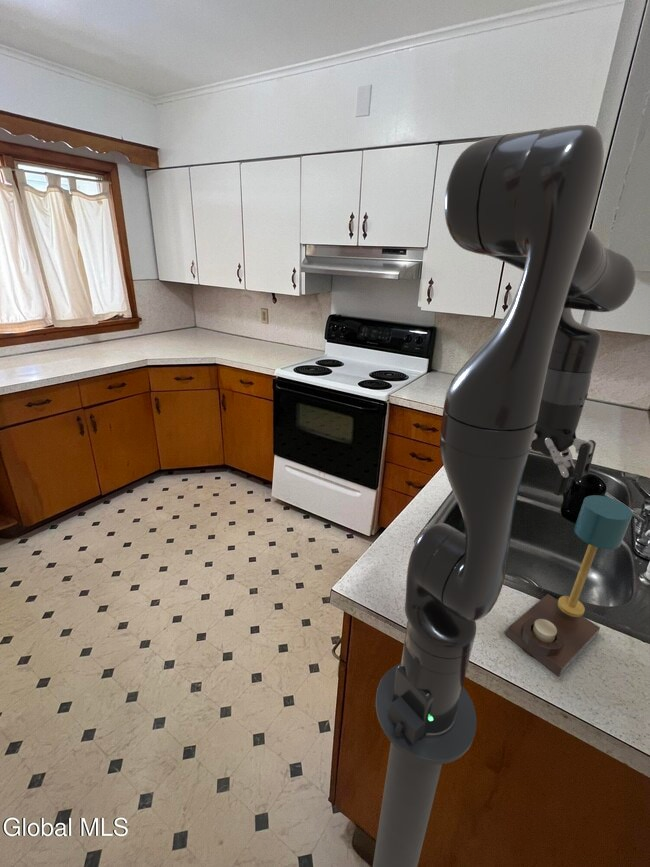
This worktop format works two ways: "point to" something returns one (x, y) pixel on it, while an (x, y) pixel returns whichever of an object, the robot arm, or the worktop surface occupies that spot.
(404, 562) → the worktop surface
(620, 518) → the lamp
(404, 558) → the worktop surface
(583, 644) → the lamp base
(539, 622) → the lamp switch
